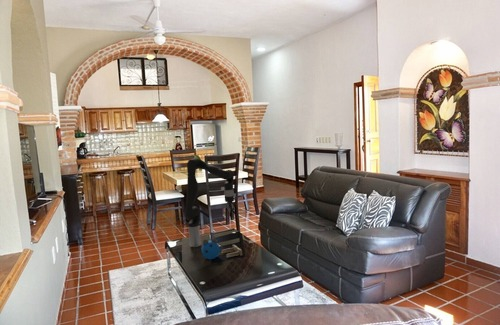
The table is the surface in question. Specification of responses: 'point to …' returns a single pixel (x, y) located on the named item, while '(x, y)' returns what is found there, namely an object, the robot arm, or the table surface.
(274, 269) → the table surface
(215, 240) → the alarm clock
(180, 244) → the table surface
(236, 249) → the wooden staple shape
